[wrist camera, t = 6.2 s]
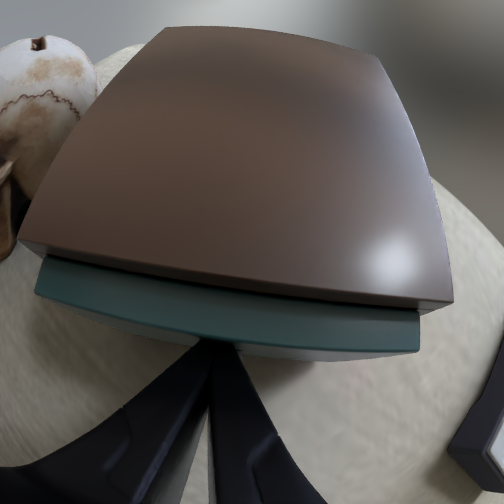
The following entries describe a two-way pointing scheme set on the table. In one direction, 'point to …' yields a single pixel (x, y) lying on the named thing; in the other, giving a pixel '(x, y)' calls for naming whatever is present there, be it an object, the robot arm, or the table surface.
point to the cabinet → (249, 174)
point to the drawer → (228, 315)
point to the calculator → (484, 434)
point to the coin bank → (37, 117)
